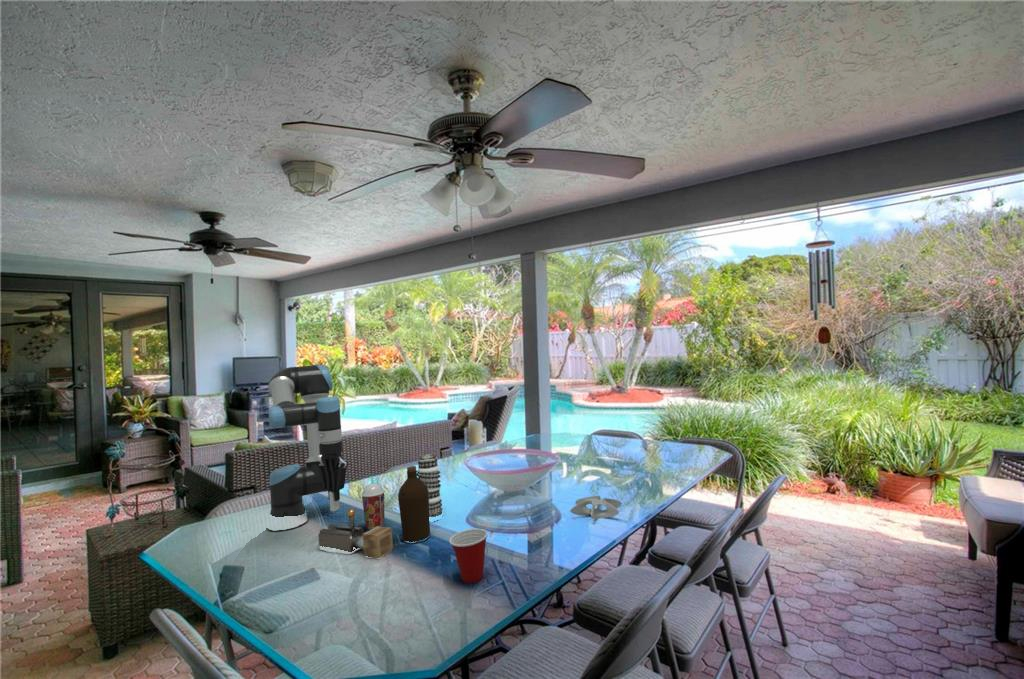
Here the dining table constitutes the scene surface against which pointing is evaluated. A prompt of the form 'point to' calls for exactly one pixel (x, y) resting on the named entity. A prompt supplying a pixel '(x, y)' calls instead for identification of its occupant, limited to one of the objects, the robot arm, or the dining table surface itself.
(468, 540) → the plastic cup
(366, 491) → the smoothie
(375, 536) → the socket block
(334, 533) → the outer sleeve
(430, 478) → the decorative candle
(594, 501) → the sculpture
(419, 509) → the olive oil
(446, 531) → the dining table surface
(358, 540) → the ball knob lever
